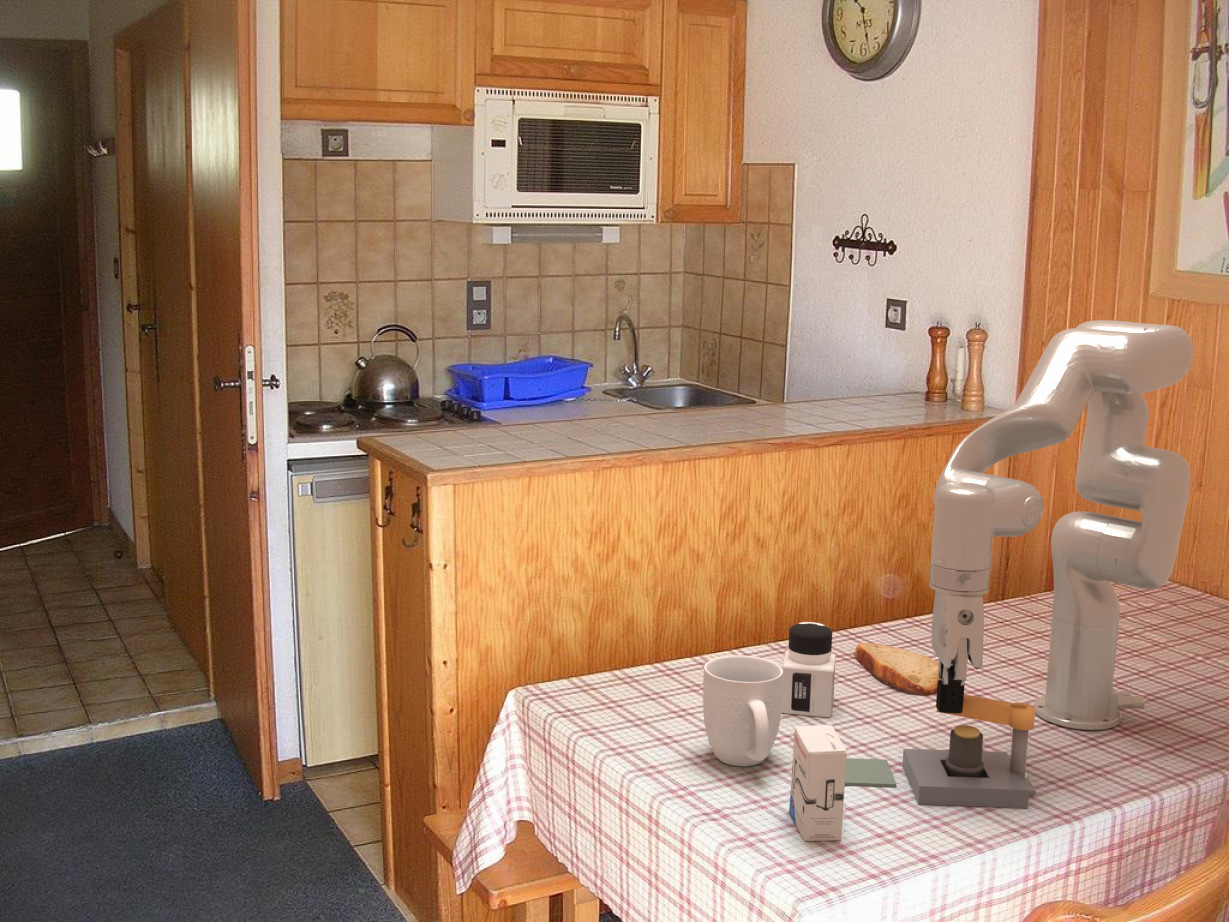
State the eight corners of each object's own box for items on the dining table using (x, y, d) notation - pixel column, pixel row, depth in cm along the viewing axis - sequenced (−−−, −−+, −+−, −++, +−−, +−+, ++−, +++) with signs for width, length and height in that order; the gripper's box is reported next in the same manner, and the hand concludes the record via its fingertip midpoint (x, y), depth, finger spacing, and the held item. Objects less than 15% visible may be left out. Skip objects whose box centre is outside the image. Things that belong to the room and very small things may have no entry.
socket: (1019, 769, 181) (1024, 711, 179) (1043, 808, 169) (1049, 746, 167) (902, 765, 181) (906, 707, 180) (918, 804, 170) (922, 742, 168)
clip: (1035, 723, 174) (1037, 705, 174) (1031, 732, 171) (1032, 713, 171) (940, 706, 180) (942, 688, 179) (934, 713, 177) (936, 695, 176)
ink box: (788, 810, 167) (792, 723, 165) (826, 809, 168) (830, 722, 166) (803, 842, 159) (807, 751, 157) (843, 841, 159) (848, 750, 157)
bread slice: (859, 650, 230) (860, 629, 230) (962, 668, 222) (964, 646, 221) (826, 681, 215) (827, 659, 214) (936, 702, 207) (937, 679, 206)
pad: (886, 762, 182) (886, 759, 182) (896, 787, 175) (896, 784, 175) (828, 760, 183) (828, 757, 183) (835, 784, 175) (835, 782, 175)
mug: (801, 782, 176) (806, 689, 173) (722, 789, 173) (726, 695, 171) (764, 738, 190) (767, 652, 187) (691, 744, 187) (693, 657, 185)
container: (831, 718, 198) (835, 635, 196) (779, 713, 200) (783, 631, 197) (833, 700, 205) (837, 620, 203) (783, 695, 207) (787, 616, 205)
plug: (977, 779, 178) (981, 723, 176) (985, 795, 173) (990, 737, 171) (940, 777, 178) (944, 722, 176) (948, 793, 173) (952, 736, 171)
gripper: (1003, 594, 164) (991, 733, 167) (974, 564, 179) (964, 692, 182) (942, 592, 164) (932, 731, 168) (919, 562, 179) (909, 690, 182)
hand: (948, 710), depth 175 cm, fingers closed
